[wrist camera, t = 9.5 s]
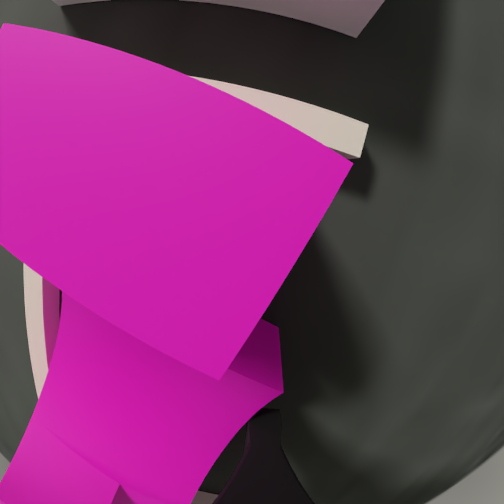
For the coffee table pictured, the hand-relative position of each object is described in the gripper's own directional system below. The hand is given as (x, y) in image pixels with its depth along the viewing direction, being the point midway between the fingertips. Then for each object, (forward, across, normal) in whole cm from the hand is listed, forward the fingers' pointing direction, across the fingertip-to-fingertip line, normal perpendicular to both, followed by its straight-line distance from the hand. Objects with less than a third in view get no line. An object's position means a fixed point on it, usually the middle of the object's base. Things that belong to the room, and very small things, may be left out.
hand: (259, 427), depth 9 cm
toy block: (+2, +4, -2) cm, 5 cm away
